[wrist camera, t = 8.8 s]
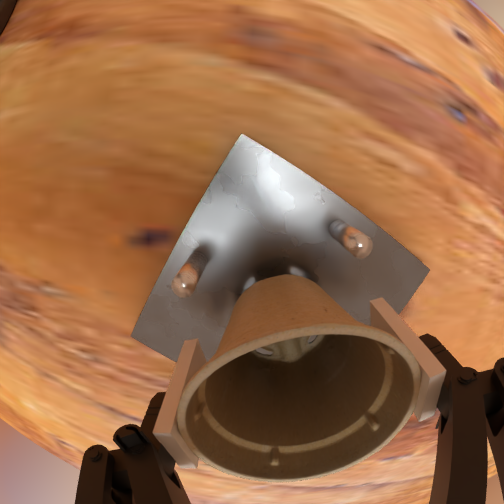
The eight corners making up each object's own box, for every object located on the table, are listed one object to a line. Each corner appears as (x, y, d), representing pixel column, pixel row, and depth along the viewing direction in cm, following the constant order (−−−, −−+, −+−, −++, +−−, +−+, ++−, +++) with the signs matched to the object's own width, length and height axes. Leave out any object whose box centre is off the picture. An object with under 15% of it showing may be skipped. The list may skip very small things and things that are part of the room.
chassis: (135, 328, 20) (109, 367, 15) (242, 135, 16) (238, 121, 11) (302, 407, 23) (310, 451, 18) (422, 264, 19) (461, 290, 14)
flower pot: (371, 253, 16) (459, 323, 8) (337, 377, 18) (372, 473, 10) (210, 237, 16) (167, 313, 7) (206, 371, 18) (185, 477, 10)
